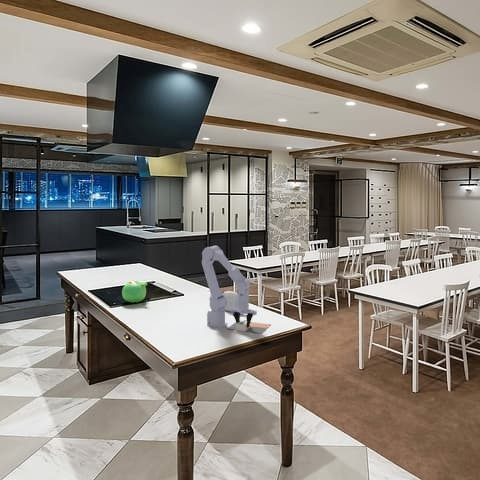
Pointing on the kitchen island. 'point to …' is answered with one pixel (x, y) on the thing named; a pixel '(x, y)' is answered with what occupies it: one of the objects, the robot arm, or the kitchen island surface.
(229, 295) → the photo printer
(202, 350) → the kitchen island surface
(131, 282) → the green apple
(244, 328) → the card deck
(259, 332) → the mat
